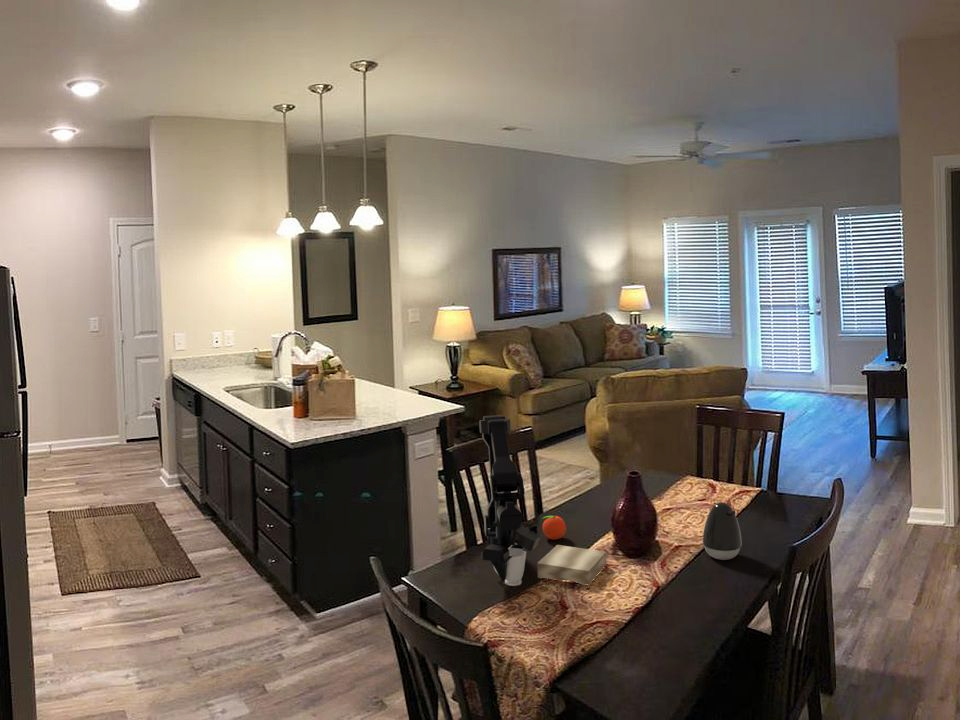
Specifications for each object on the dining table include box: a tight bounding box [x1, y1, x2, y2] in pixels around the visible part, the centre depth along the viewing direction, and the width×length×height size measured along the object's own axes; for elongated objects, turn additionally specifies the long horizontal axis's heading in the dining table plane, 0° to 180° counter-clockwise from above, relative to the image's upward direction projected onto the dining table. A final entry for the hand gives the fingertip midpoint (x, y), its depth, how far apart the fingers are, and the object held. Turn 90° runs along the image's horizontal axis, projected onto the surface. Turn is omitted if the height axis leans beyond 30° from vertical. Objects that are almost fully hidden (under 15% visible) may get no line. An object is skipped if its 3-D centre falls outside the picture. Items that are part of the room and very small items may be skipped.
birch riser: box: [536, 544, 607, 585], centre depth 210 cm, size 14×14×4 cm
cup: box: [492, 548, 527, 587], centre depth 205 cm, size 7×10×8 cm
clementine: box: [540, 515, 567, 540], centre depth 234 cm, size 8×7×7 cm
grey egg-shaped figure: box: [702, 501, 743, 561], centre depth 216 cm, size 10×10×15 cm
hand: (508, 575), depth 205 cm, fingers closed on cup, 6 cm apart
